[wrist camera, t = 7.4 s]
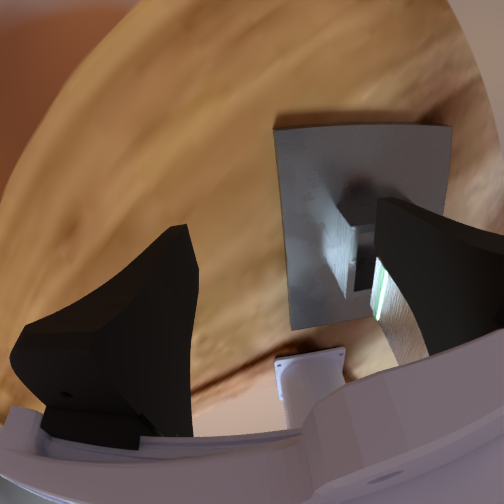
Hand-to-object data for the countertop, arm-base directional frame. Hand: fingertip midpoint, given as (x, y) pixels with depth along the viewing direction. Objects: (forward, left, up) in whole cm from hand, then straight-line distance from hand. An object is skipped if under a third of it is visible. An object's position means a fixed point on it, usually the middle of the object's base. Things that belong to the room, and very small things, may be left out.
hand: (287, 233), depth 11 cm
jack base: (-7, -8, -10) cm, 15 cm away
